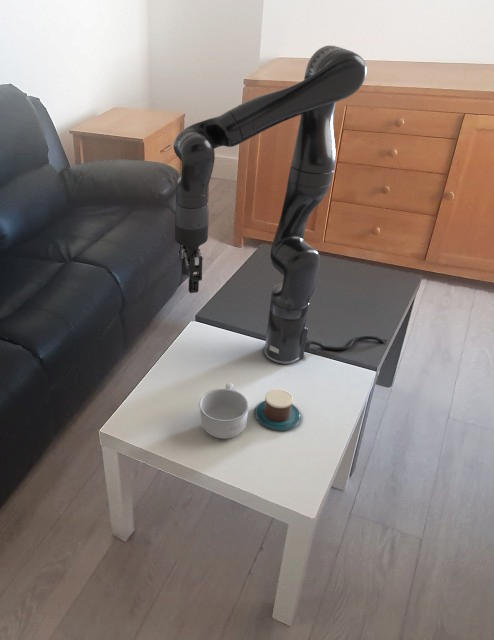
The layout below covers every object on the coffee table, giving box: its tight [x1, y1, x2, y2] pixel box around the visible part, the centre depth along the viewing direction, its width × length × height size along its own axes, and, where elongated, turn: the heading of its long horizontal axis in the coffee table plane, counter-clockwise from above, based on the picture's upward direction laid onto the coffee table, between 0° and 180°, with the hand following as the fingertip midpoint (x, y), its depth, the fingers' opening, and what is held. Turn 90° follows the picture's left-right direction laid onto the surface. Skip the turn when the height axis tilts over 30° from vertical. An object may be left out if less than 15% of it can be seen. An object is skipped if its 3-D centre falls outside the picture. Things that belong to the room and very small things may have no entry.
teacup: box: [198, 382, 249, 439], centre depth 136 cm, size 14×11×8 cm
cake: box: [264, 388, 293, 422], centre depth 138 cm, size 6×6×5 cm
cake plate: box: [255, 400, 301, 432], centre depth 140 cm, size 10×10×1 cm
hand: (189, 282), depth 142 cm, fingers open, 8 cm apart
